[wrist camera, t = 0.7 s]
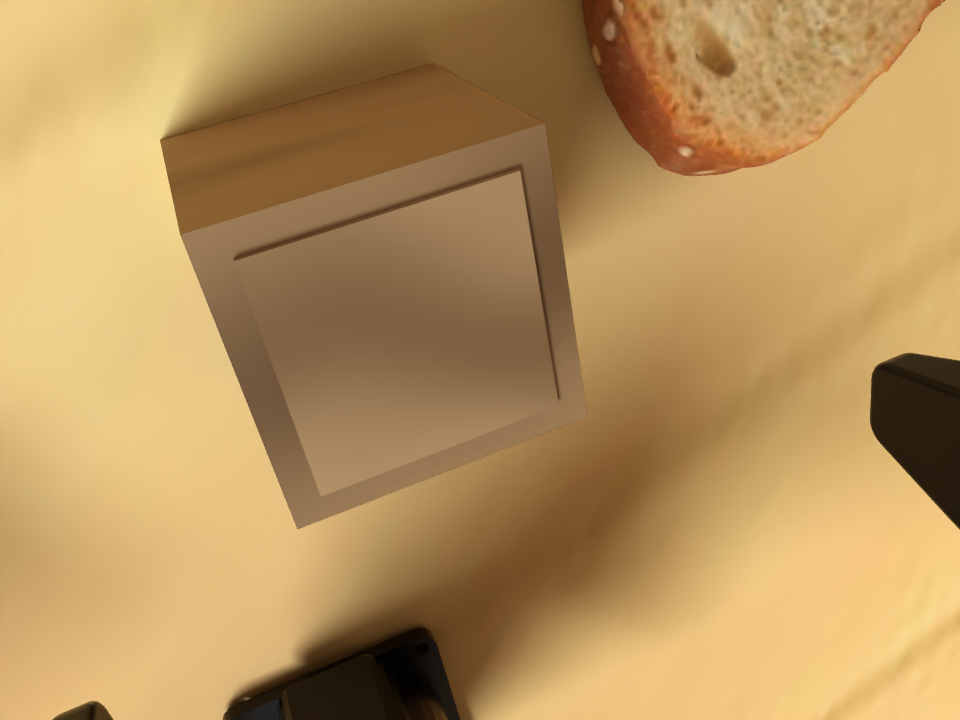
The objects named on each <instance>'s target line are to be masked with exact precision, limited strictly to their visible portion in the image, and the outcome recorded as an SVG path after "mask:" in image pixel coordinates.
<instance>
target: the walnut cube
mask: <svg viewBox="0 0 960 720" xmlns="http://www.w3.org/2000/svg"><path fill="white" fill-rule="evenodd" d="M160 142H161V147H162V151H163V156H164V161H165V165H166V170H167V175H168V179H169V184H170V189H171V193H172V198H173V203H174V207H175V212H176V217H177V221H178V226H179V231H180V235H181V238H182V240H183V243H184V245H185V248H186V250H187V253H188V255H189V258H190V260H191V263H192V265H193V268H194V270H195V273H196V275H197V278H198V280H199V283H200V285H201V288H202V290H203V293H204V295H205V298H206V301H207V303H208V306H209V308H210V311H211V313H212V316H213V318H214V321H215V323H216V326H217V328H218V331H219V333H220V336H221V338H222V341H223V343H224V346H225V348H226V351H227V353H228V356H229V358H230V361H231V363H232V366H233V368H234V371H235V373H236V376H237V378H238V381H239V383H240V386H241V389H242V391H243V394H244V396H245V399H246V401H247V404H248V406H249V409H250V411H251V414H252V416H253V419H254V421H255V424H256V426H257V429H258V431H259V434H260V436H261V439H262V441H263V444H264V446H265V449H266V451H267V454H268V456H269V459H270V461H271V464H272V466H273V469H274V471H275V474H276V476H277V479H278V482H279V484H280V487H281V489H282V492H283V494H284V497H285V499H286V502H287V504H288V507H289V509H290V512H291V514H292V517H293V519H294V522H295V524H296V527H297V529H300V528H302V527H305V526H307V525H310V524H313V523H315V522H318V521H320V520H323V519H325V518H328V517H331V516H333V515H336V514H338V513H341V512H343V511H346V510H348V509H351V508H354V507H356V506H359V505H361V504H364V503H366V502H369V501H372V500H374V499H377V498H379V497H382V496H384V495H387V494H390V493H392V492H395V491H397V490H400V489H402V488H405V487H408V486H410V485H413V484H415V483H418V482H420V481H423V480H426V479H428V478H431V477H433V476H436V475H438V474H441V473H443V472H446V471H449V470H451V469H454V468H456V467H459V466H461V465H464V464H467V463H469V462H472V461H474V460H477V459H479V458H482V457H485V456H487V455H490V454H492V453H495V452H497V451H500V450H503V449H505V448H508V447H510V446H513V445H515V444H518V443H521V442H523V441H526V440H528V439H531V438H533V437H536V436H538V435H541V434H544V433H546V432H549V431H551V430H554V429H556V428H559V427H562V426H564V425H567V424H569V423H572V422H574V421H577V420H580V419H582V418H585V417H587V411H586V404H585V397H584V390H583V383H582V376H581V369H580V362H579V355H578V348H577V341H576V334H575V328H574V321H573V314H572V307H571V300H570V293H569V286H568V279H567V272H566V265H565V258H564V251H563V244H562V237H561V230H560V223H559V216H558V210H557V203H556V196H555V189H554V182H553V175H552V168H551V161H550V154H549V147H548V140H547V133H546V126H545V123H543V122H542V121H540V120H538V119H536V118H534V117H532V116H530V115H528V114H527V113H525V112H523V111H521V110H519V109H517V108H515V107H514V106H512V105H510V104H508V103H506V102H504V101H502V100H500V99H499V98H497V97H495V96H493V95H491V94H489V93H487V92H486V91H484V90H482V89H480V88H478V87H476V86H474V85H472V84H471V83H469V82H467V81H465V80H463V79H461V78H459V77H457V76H456V75H454V74H452V73H450V72H448V71H446V70H444V69H443V68H441V67H439V66H437V65H435V64H429V65H426V66H422V67H419V68H415V69H412V70H408V71H404V72H401V73H397V74H394V75H390V76H387V77H383V78H379V79H376V80H372V81H369V82H365V83H362V84H358V85H355V86H351V87H347V88H344V89H340V90H337V91H333V92H330V93H326V94H323V95H319V96H315V97H312V98H308V99H305V100H301V101H298V102H294V103H290V104H287V105H283V106H280V107H276V108H273V109H269V110H266V111H262V112H258V113H255V114H251V115H248V116H244V117H241V118H237V119H234V120H230V121H226V122H223V123H219V124H216V125H212V126H209V127H205V128H201V129H198V130H194V131H191V132H187V133H184V134H180V135H177V136H173V137H169V138H166V139H162V140H160Z"/></svg>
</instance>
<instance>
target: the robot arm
mask: <svg viewBox="0 0 960 720" xmlns="http://www.w3.org/2000/svg"><path fill="white" fill-rule="evenodd" d="M870 423H871V428H872V430H873V433H874V435H875V436H876V438H877V440H878V441H879V442H880V443H881V445H882V446H883V447H884V448H885V449H886V450H887V451H888V452H889V453H890V454H891V455H892V457H893V458H894V459H895V460H896V461H897V462H898V463H899V464H900V465H901V466H902V467H903V469H904V470H905V471H906V472H907V473H908V474H909V475H910V476H911V477H912V478H913V480H914V481H915V482H916V483H917V484H918V485H919V486H920V487H921V488H922V489H923V490H924V492H925V493H926V494H927V495H928V496H929V497H930V498H931V499H932V500H933V501H934V502H935V504H936V505H937V506H938V507H939V508H940V509H941V510H942V511H943V512H944V513H945V514H946V516H947V517H948V518H949V519H950V520H951V521H952V522H953V523H954V524H955V525H956V526H957V527H958V528H959V529H960V361H958V360H952V359H946V358H939V357H933V356H927V355H920V354H914V353H905V354H901V355H898V356H896V357H894V358H891V359H889V360H887V361H884V362H882V363H880V364H878V365H877V366H876V367H875V369H874V371H873V373H872V379H871V407H870ZM421 643H422V644H421ZM418 644H421V645H419V646H417V645H418ZM415 646H416V647H415ZM53 720H113V718H112V717H111V715H110V714H109V712H108V711H107V709H106V708H105V707H104V706H103V705H102V704H101V703H99V702H97V701H90V702H87V703H85V704H83V705H80V706H78V707H76V708H73V709H71V710H69V711H66V712H64V713H62V714H59V715H58V716H56V717H55V718H54V719H53ZM223 720H460V718H459V715H458V711H457V708H456V705H455V702H454V699H453V695H452V692H451V689H450V686H449V683H448V679H447V676H446V673H445V670H444V667H443V663H442V660H441V657H440V654H439V651H438V647H437V644H436V642H435V639H434V637H433V635H432V633H431V631H430V630H429V629H426V628H416V629H413V630H410V631H408V632H406V633H403V634H401V635H399V636H396V637H394V638H392V639H389V640H387V641H385V642H382V643H380V644H378V645H375V646H373V647H371V648H368V649H366V650H364V651H361V652H359V653H357V654H354V655H352V656H350V657H347V658H345V659H343V660H340V661H338V662H336V663H333V664H331V665H329V666H326V667H324V668H322V669H319V670H317V671H315V672H312V673H310V674H308V675H305V676H303V677H301V678H298V679H296V680H294V681H291V682H289V683H287V684H284V685H282V686H280V687H277V688H275V689H272V690H270V691H268V692H265V693H263V694H261V695H258V696H256V697H254V698H251V699H249V700H247V701H244V702H242V703H240V704H237V705H235V706H233V707H232V708H230V709H228V711H227V712H226V713H225V714H224V716H223Z"/></svg>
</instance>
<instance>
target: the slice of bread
mask: <svg viewBox="0 0 960 720" xmlns="http://www.w3.org/2000/svg"><path fill="white" fill-rule="evenodd" d="M944 1H945V0H582V4H583V10H584V20H585V25H586V30H587V36H588V41H589V45H590V49H591V52H592V55H593V58H594V60H595V63H596V65H597V68H598V71H599V73H600V76H601V79H602V82H603V85H604V88H605V91H606V93H607V95H608V97H609V99H610V100H611V102H612V104H613V106H614V107H615V109H616V111H617V113H618V115H619V117H620V119H621V120H622V122H623V123H624V125H625V127H626V129H627V130H628V131H629V133H630V134H631V135H632V137H633V138H634V140H635V141H636V142H637V143H638V144H639V145H640V146H642V147H643V148H644V149H645V150H646V151H648V152H649V153H650V154H651V156H652V157H653V158H654V159H655V161H656V162H657V164H658V165H659V166H660V167H662V168H664V169H666V170H669V171H672V172H675V173H678V174H681V175H684V176H701V175H718V174H725V173H729V172H732V171H736V170H738V169H741V168H748V167H756V166H762V165H765V164H768V163H771V162H774V161H776V160H778V159H780V158H782V157H785V156H787V155H789V154H791V153H793V152H795V151H797V150H799V149H802V148H804V147H805V146H807V145H809V144H810V143H812V142H814V141H816V140H818V139H819V138H820V137H821V136H822V134H823V133H824V132H825V130H826V129H827V128H828V127H829V126H831V125H832V124H833V123H834V122H835V121H836V120H837V119H838V118H839V117H840V116H841V115H842V114H843V113H844V112H845V111H846V110H847V109H849V107H850V106H851V105H852V104H853V103H855V101H856V100H857V99H858V98H859V97H860V96H861V95H862V94H863V93H864V92H865V90H866V89H867V87H868V86H869V85H870V84H871V83H872V82H873V80H875V79H876V78H877V77H878V76H879V75H881V74H882V73H884V72H886V71H888V70H889V68H890V67H891V65H892V64H893V63H894V62H895V60H896V59H897V58H898V57H899V56H900V55H901V54H902V52H903V51H904V50H905V48H906V47H907V45H908V44H909V43H910V41H911V40H912V39H913V38H914V37H915V36H916V35H917V34H918V32H919V31H920V29H921V25H922V23H923V21H924V20H925V18H926V17H927V16H928V14H929V13H930V12H931V11H932V10H934V9H935V8H936V7H938V6H939V5H941V3H942V2H944Z"/></svg>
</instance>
